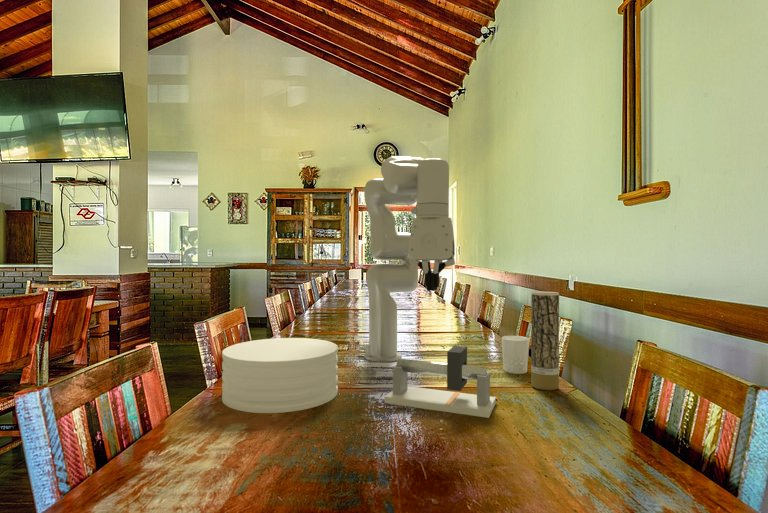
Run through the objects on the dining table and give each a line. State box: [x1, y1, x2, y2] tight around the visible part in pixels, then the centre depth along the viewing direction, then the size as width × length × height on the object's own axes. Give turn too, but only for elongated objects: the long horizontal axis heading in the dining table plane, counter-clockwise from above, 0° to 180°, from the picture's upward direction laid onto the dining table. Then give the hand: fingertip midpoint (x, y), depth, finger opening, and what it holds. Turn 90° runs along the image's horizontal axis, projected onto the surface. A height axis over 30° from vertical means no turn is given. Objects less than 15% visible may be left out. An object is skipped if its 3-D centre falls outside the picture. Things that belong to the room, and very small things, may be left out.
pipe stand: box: [384, 364, 497, 419], centre depth 103 cm, size 24×10×8 cm, turn 67°
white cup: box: [501, 335, 530, 375], centre depth 132 cm, size 8×8×10 cm
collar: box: [446, 345, 468, 392], centre depth 102 cm, size 3×7×8 cm, turn 157°
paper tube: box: [530, 290, 560, 391], centre depth 116 cm, size 7×7×25 cm
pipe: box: [395, 358, 488, 381], centre depth 103 cm, size 21×3×3 cm, turn 67°
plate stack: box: [221, 337, 339, 414], centre depth 110 cm, size 28×28×12 cm
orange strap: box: [445, 391, 461, 406], centre depth 102 cm, size 1×10×8 cm, turn 157°
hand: (431, 290), depth 104 cm, fingers closed
